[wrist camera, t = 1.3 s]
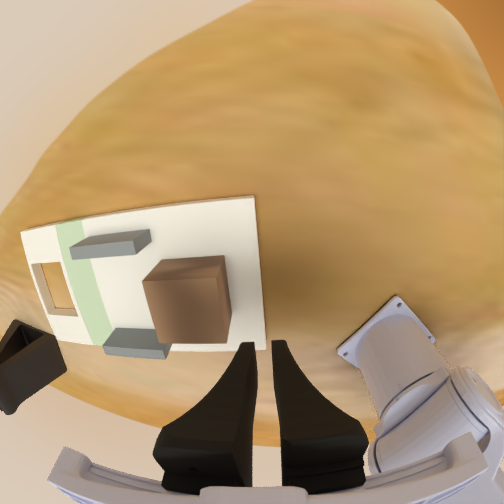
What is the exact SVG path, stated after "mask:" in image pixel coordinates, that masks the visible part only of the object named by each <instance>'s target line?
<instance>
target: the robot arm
mask: <svg viewBox="0 0 504 504" xmlns="http://www.w3.org/2000/svg"><path fill="white" fill-rule="evenodd" d="M398 303H400V304H399V305H397V304H398ZM435 341H436V339H435V337H434V336H433V335H432V334H431V333H430V331H429V330H428V329H427V328H426V327H425V326H424V324H423V323H422V322H421V321H420V320H419V319H418V317H417V316H416V315H415V314H414V313H413V312H412V311H411V309H410V308H409V307H408V306H407V305H406V304H405V303H404V302H403V300H402V299H401V298H400V297H399V296H394V297H393V298H392V299H391V300H390V301H389V302H388V303H387V304H386V305H385V306H384V307H383V308H382V309H381V310H380V311H379V312H378V313H376V314H375V315H374V316H373V317H372V318H371V319H370V320H369V321H368V322H367V323H366V324H365V325H364V326H363V327H361V328H360V329H359V330H358V331H357V332H356V333H355V334H354V335H353V336H351V337H350V338H349V339H348V340H347V341H346V342H345V343H343V344H342V345H341V346H340V347H339V348H338V349H337V353H338V355H339V356H341V357H342V358H344V359H345V360H347V361H348V362H349V363H351V364H352V365H354V366H355V367H357V368H358V369H360V370H361V373H362V375H363V378H364V380H365V383H366V385H367V388H368V391H369V393H370V396H371V398H372V401H373V404H374V407H375V409H376V412H377V415H378V417H379V420H380V422H379V423H378V424H377V425H376V426H375V427H374V430H375V433H376V436H377V439H375V440H374V441H373V442H372V443H371V445H370V447H369V450H368V465H369V470H370V472H371V475H370V476H366V477H365V473H364V469H363V466H364V460H363V455H364V453H365V451H366V449H367V447H368V444H369V441H368V438H367V435H366V433H365V431H364V429H363V427H362V425H361V424H360V422H359V421H358V420H356V419H354V418H353V417H351V416H349V415H348V414H346V413H345V412H343V411H342V410H340V409H339V408H337V407H336V406H335V405H334V404H332V403H331V402H330V401H329V400H328V399H326V398H325V397H324V396H323V395H322V394H321V393H320V392H319V391H318V390H317V389H316V388H315V387H314V386H313V385H312V384H311V382H310V381H309V380H308V379H307V377H306V376H305V375H304V373H303V372H302V371H301V369H300V368H299V366H298V365H297V363H296V361H295V360H294V358H293V356H292V354H291V352H290V350H289V348H288V346H287V342H286V341H285V340H273V341H271V343H272V362H273V379H274V391H275V397H276V404H277V410H278V417H279V424H280V439H281V462H282V463H281V466H282V486H278V487H252V441H253V421H254V413H255V405H256V397H257V389H258V371H257V362H256V352H255V343H254V342H242V343H240V345H239V348H238V350H237V352H236V354H235V356H234V358H233V360H232V361H231V363H230V365H229V366H228V368H227V369H226V371H225V372H224V374H223V375H222V377H221V378H220V379H219V381H218V382H217V383H216V385H215V386H214V387H213V388H212V389H211V390H210V392H209V393H208V394H207V395H206V396H205V397H204V398H203V399H202V400H201V401H200V402H198V403H197V404H196V405H195V406H194V407H193V408H191V409H190V410H189V411H187V412H186V413H185V414H184V415H182V416H181V417H179V418H178V419H176V420H174V421H173V422H171V423H169V424H168V425H166V426H164V427H163V428H162V430H161V432H160V434H159V436H158V438H157V440H156V444H155V447H154V450H153V456H154V458H155V460H156V461H157V462H158V464H159V465H160V466H161V467H162V469H164V471H165V472H164V476H163V480H162V481H157V480H152V479H147V478H143V477H139V476H135V475H131V474H127V473H124V472H120V471H116V470H113V469H110V468H107V467H104V466H101V465H98V464H95V463H92V462H91V461H90V459H89V458H88V457H86V456H85V455H84V454H82V453H80V452H78V451H75V450H73V449H70V448H68V447H64V448H63V450H62V452H61V454H60V455H59V457H58V459H57V461H56V463H55V465H54V467H53V469H52V471H51V473H50V475H49V477H48V479H47V480H48V482H49V483H51V484H52V485H53V486H54V487H56V488H57V489H58V490H60V491H61V492H63V493H64V494H65V495H67V496H68V497H70V498H71V499H72V500H74V501H75V502H78V503H80V504H504V472H503V471H502V470H501V468H500V467H499V466H500V464H501V462H502V460H503V458H504V409H503V408H502V406H501V404H500V402H499V400H498V399H497V397H496V396H495V394H494V393H493V391H492V390H491V389H490V388H489V386H488V385H487V384H486V383H485V382H484V381H483V379H482V378H481V377H480V376H479V375H478V374H476V373H475V372H474V371H473V370H472V369H470V368H469V367H456V368H455V369H454V370H452V369H451V368H450V366H449V365H448V363H447V362H446V361H445V359H444V358H443V357H442V355H441V354H440V352H439V351H438V350H437V348H436V347H435V346H434V343H435ZM345 352H347V353H345ZM344 353H345V354H344Z"/></svg>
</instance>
